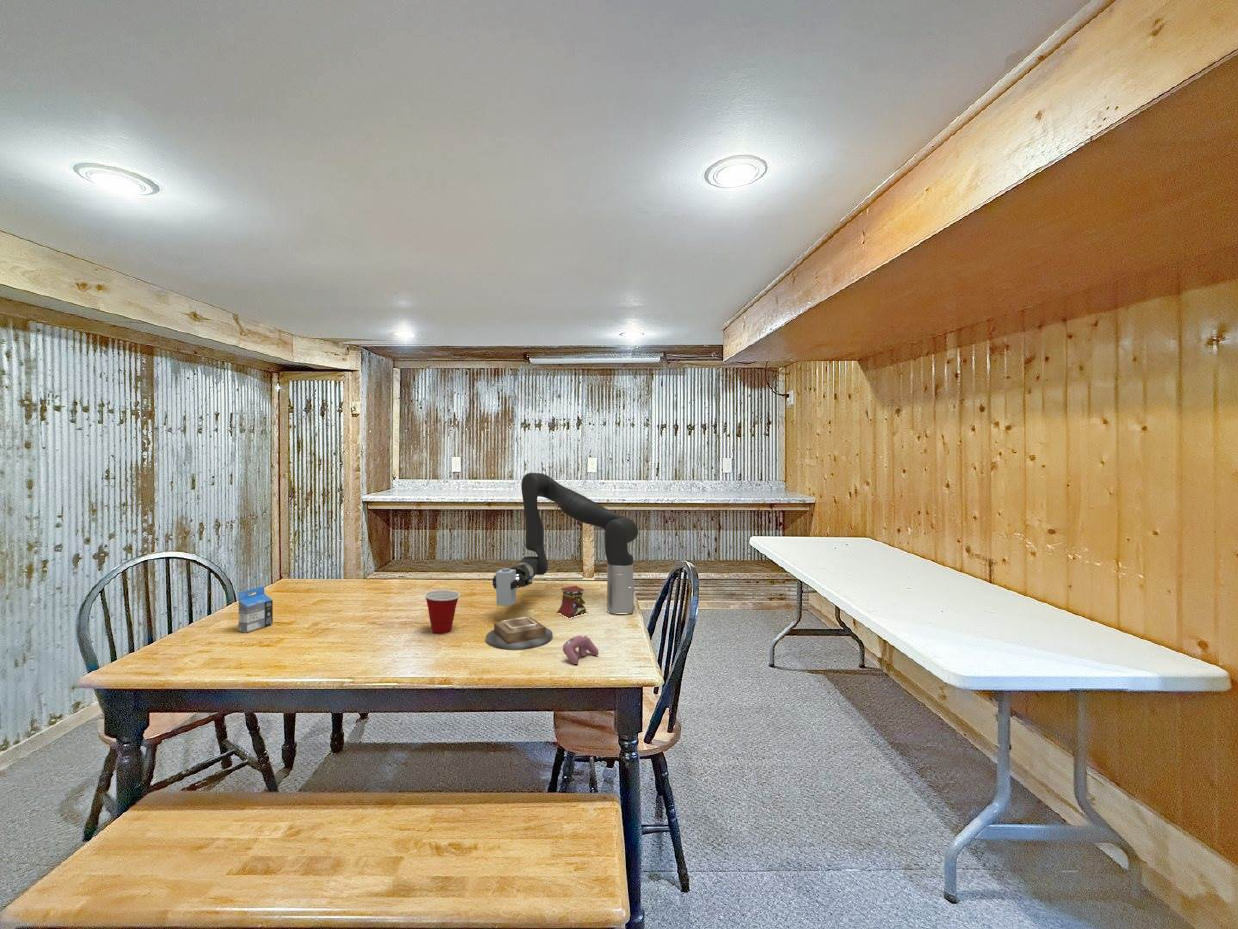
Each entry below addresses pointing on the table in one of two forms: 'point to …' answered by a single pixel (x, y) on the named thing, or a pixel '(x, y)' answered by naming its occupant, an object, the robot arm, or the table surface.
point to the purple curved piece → (583, 645)
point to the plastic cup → (441, 609)
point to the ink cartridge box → (254, 610)
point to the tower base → (517, 645)
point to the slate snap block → (505, 587)
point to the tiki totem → (572, 602)
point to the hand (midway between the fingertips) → (503, 586)
